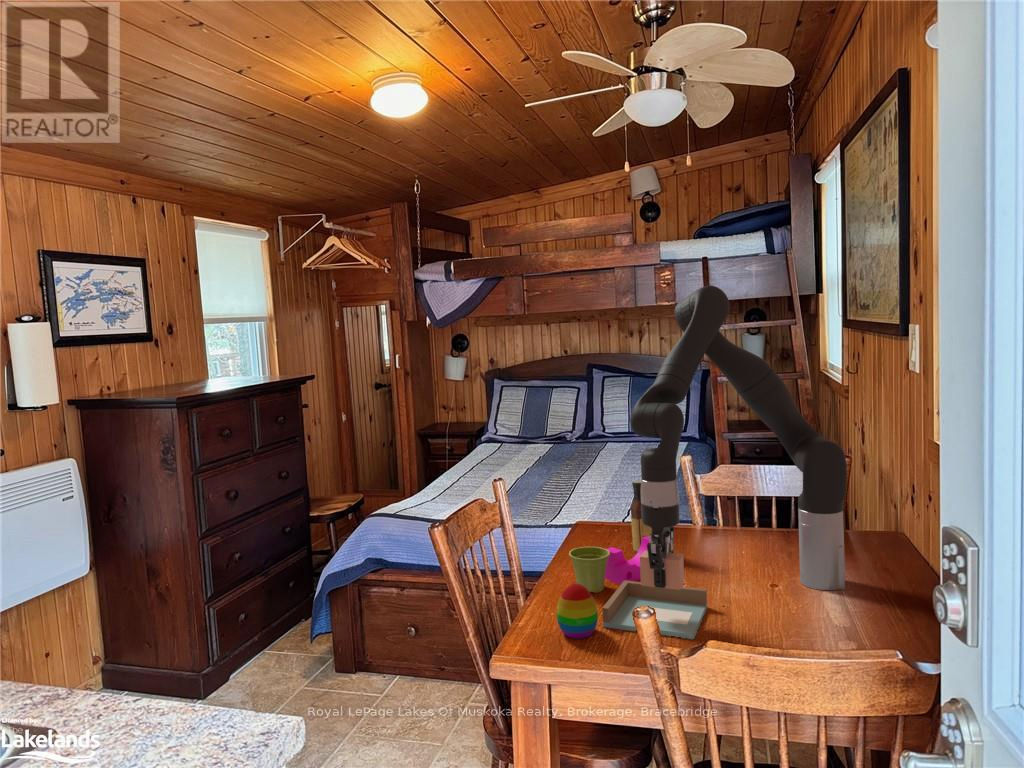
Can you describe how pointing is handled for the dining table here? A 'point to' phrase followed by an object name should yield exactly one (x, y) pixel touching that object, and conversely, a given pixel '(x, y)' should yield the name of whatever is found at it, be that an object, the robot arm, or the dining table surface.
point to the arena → (657, 608)
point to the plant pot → (590, 567)
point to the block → (672, 571)
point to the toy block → (624, 564)
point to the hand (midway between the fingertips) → (662, 582)
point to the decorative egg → (577, 612)
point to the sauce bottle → (638, 518)
